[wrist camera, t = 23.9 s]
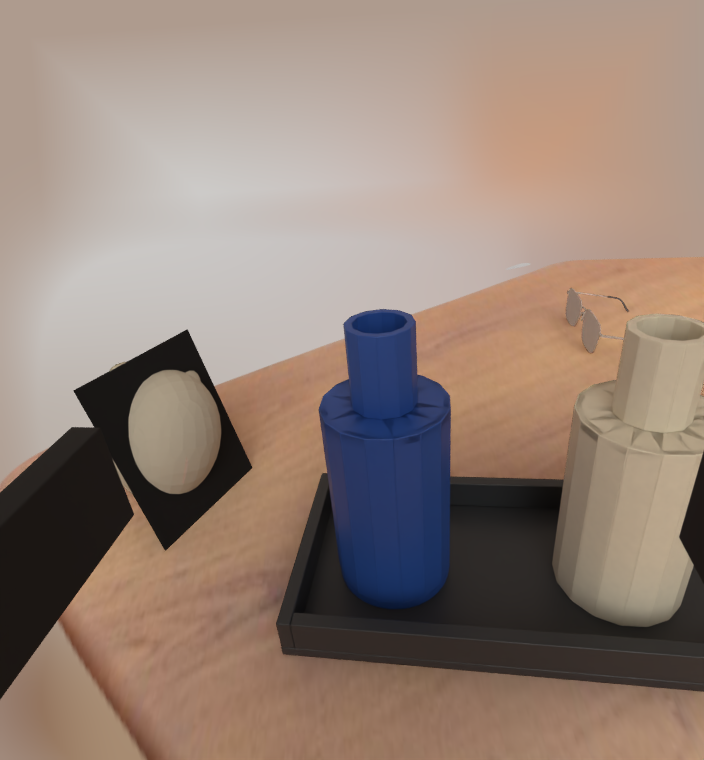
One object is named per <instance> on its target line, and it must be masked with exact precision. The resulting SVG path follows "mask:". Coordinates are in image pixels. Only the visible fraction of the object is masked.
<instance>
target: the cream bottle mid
mask: <svg viewBox="0 0 704 760" xmlns="http://www.w3.org/2000/svg"><path fill="white" fill-rule="evenodd" d="M703 383H704V322H702V321H700V320H697V319H693V318H688V317H684V316H680V315H670V314H649V315H641V316H636V317H635V318H633V319H631V320H629V321H628V322H627V325H626V330H625V336H624V341H623V347H622V352H621V358H620V363H619V369H618V374H617V380H612V381H608V382H603V383H599V384H594V385H592V386H590V387H589V388H587V389H586V390H584V391H583V392H581V393H579V395H578V397H577V400H576V403H575V405H574V411H573V418H572V425H571V432H570V439H569V446H568V453H567V461H566V468H565V475H564V482H563V489H562V496H561V503H560V510H559V517H558V525H557V532H556V539H555V546H554V553H553V560H552V566H553V569H554V573H555V577H556V581H557V583H558V584H559V585H560V587H561V588H562V589H563V590H564V592H565V593H566V594H567V596H568V597H569V598H570V600H572V601H573V602H574V603H576V604H577V605H579V606H580V607H581V608H583V609H584V610H586V611H587V612H588V613H590V614H591V615H594V616H595V617H598V618H601V619H603V620H606V621H609V622H612V623H615V624H617V625H621V626H635V627H649V626H652V625H655V624H658V623H661V622H664V621H667V620H669V619H670V618H671V617H672V616H673V614H674V613H675V612H676V611H677V610H678V608H679V607H680V606H681V603H682V600H683V597H684V594H685V591H686V588H687V585H688V582H689V578H690V575H691V572H692V569H693V566H694V565H693V563H692V561H691V559H690V557H689V555H688V554H687V552H686V550H685V548H684V546H683V544H682V542H681V540H680V538H679V535H680V532H681V528H682V525H683V521H684V518H685V514H686V511H687V507H688V504H689V500H690V497H691V493H692V490H693V486H694V483H695V479H696V476H697V472H698V469H699V465H700V462H701V458H702V455H703V451H704V396H702V395H700V394H701V390H702V386H703Z"/></svg>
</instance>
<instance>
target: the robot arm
mask: <svg viewBox="0 0 704 760" xmlns="http://www.w3.org/2000/svg"><path fill="white" fill-rule="evenodd" d="M133 515H134V513H133V510H132V508H131V505H130V503H129V500H128V498H127V495H126V492H125V490H124V487H123V485H122V482H121V480H120V477H119V474H118V472H117V469H116V467H115V464H114V462H113V459H112V456H111V454H110V451H109V449H108V446H107V444H106V441H105V438H104V436H103V433H102V431H101V428H83V427H80V428H79V427H72V428H71V429H69V430H68V431H67V432H66V433H65V434H64V435H63V436H62V437H61V438H60V439H58V440H57V441H56V442H55V443H54V444H53V445H52V446H51V447H50V448H49V449H48V450H46V451H45V452H44V453H43V454H42V455H41V456H40V457H39V458H38V459H37V460H36V461H34V462H33V463H32V464H31V465H30V466H29V467H28V468H27V469H26V470H25V471H23V472H22V473H21V474H20V475H19V476H18V477H17V478H16V479H15V480H14V481H13V482H11V483H10V484H9V485H8V486H7V487H6V488H5V489H4V490H3V491H2V492H1V493H0V699H1V698H2V696H3V695H4V693H5V692H6V691H7V689H8V688H9V687H10V685H11V684H12V682H13V681H14V679H15V678H16V677H17V676H18V674H19V673H20V671H21V670H22V668H23V667H24V666H25V664H26V663H27V662H28V660H29V659H30V658H31V656H32V655H33V653H34V652H35V651H36V649H37V648H38V647H39V645H40V644H41V642H42V641H43V639H44V638H45V636H46V635H47V634H48V633H49V631H50V630H51V629H52V627H53V626H54V624H55V623H56V622H57V620H58V619H59V617H60V616H61V615H62V613H63V612H64V611H65V609H66V608H67V606H68V605H69V604H70V602H71V601H72V600H73V598H74V597H75V595H76V594H77V593H78V591H79V590H80V588H81V587H82V586H83V584H84V583H85V582H86V580H87V579H88V577H89V576H90V575H91V573H92V572H93V571H94V569H95V568H96V566H97V565H98V564H99V562H100V561H101V559H102V558H103V557H104V555H105V554H106V553H107V551H108V550H109V548H110V547H111V546H112V544H113V543H114V541H115V540H116V539H117V537H118V536H119V535H120V533H121V532H122V530H123V529H124V528H125V526H126V525H127V524H128V522H129V521H130V519H131V518H132V517H133ZM679 538H680V540H681V542H682V544H683V546H684V548H685V550H686V552H687V554H688V555H689V557H690V559H691V561H692V563H693V565H694V567H695V569H696V571H697V573H698V574H699V576H700V578H701V580H702V582H703V584H704V451H703V455H702V458H701V462H700V465H699V469H698V472H697V476H696V479H695V483H694V486H693V490H692V493H691V497H690V500H689V504H688V507H687V511H686V514H685V518H684V521H683V525H682V528H681V532H680V535H679Z"/></svg>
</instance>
